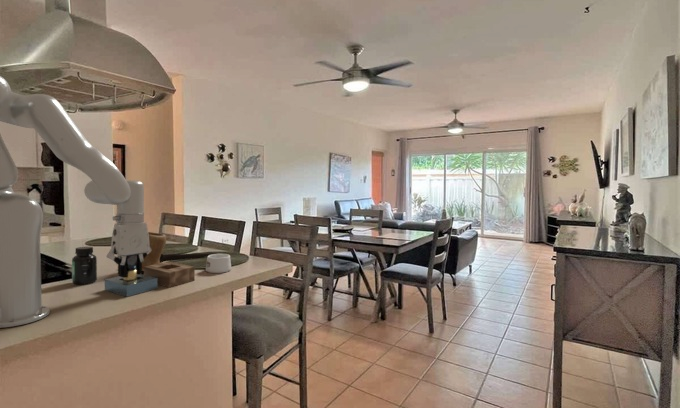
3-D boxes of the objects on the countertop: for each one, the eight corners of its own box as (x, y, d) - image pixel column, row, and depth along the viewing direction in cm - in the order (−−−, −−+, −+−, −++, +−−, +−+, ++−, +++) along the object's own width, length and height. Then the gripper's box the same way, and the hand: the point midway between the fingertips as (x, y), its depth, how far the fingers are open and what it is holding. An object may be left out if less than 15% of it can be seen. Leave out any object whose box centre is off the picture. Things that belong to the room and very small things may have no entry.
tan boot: (172, 269, 141) (172, 232, 140) (142, 275, 131) (142, 235, 130) (151, 263, 149) (151, 228, 148) (121, 269, 139) (121, 231, 138)
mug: (235, 271, 142) (235, 256, 141) (212, 275, 135) (212, 259, 134) (221, 265, 150) (221, 251, 150) (198, 269, 143) (198, 254, 143)
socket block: (126, 296, 108) (126, 285, 107) (104, 290, 113) (104, 279, 113) (157, 288, 116) (157, 278, 116) (135, 282, 122) (135, 272, 122)
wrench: (218, 261, 165) (148, 266, 143) (213, 260, 168) (144, 265, 147) (218, 250, 165) (149, 253, 143) (213, 249, 168) (145, 252, 147)
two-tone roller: (127, 290, 112) (127, 252, 111) (120, 288, 114) (120, 251, 113) (139, 287, 115) (140, 251, 115) (132, 285, 117) (132, 249, 116)
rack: (169, 287, 118) (169, 272, 118) (143, 280, 125) (143, 266, 124) (194, 280, 127) (194, 266, 126) (169, 274, 133) (169, 261, 133)
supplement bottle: (69, 286, 116) (69, 250, 115) (75, 280, 122) (74, 246, 122) (94, 284, 119) (94, 249, 118) (98, 278, 125) (98, 245, 125)
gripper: (109, 221, 104) (109, 282, 105) (161, 218, 119) (161, 271, 120) (95, 219, 108) (95, 279, 109) (148, 216, 122) (147, 268, 123)
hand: (130, 274), depth 114 cm, fingers closed on two-tone roller, 4 cm apart
